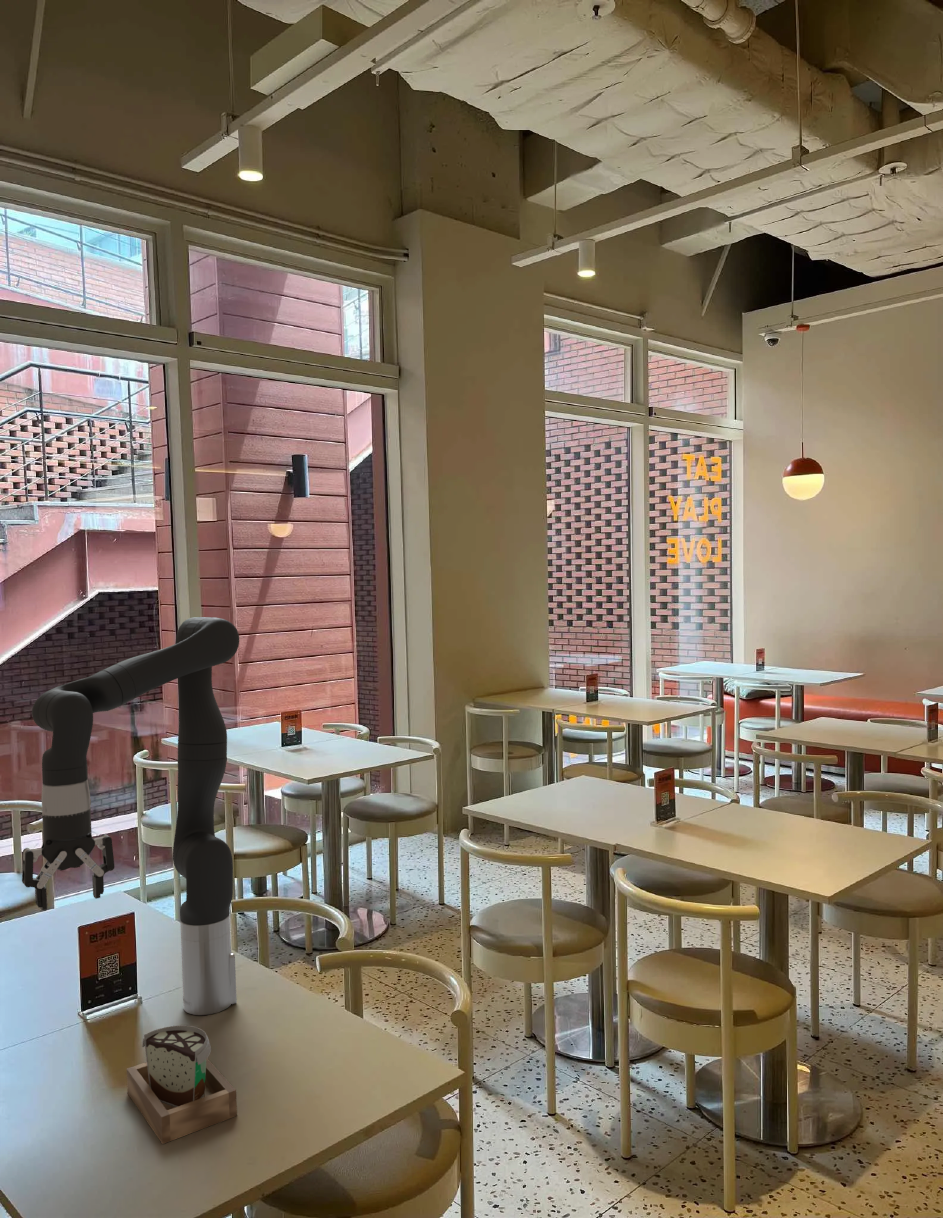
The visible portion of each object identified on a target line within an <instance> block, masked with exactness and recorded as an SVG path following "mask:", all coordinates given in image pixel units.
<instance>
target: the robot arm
mask: <svg viewBox="0 0 943 1218" xmlns="http://www.w3.org/2000/svg"><path fill="white" fill-rule="evenodd" d="M239 646H240V634H239V632H238V630H237V627H236V626H235V625H234V624H233V623H232V622H230V621H229V620H227V619H225V618H221V617H210V616H206V617H204V616H203V617H202V616H201V617H200V616H195V617H189V618H187V619H185V620H184V621H183V622H182V623H181V624H180V626H179V628H178V629H177V632H176V635H175V642H174V644H172V645H170V646H167V647H164V648H161V649H157V650H154V651H151V652H148V653H144V654H139V655H137V656H133V657H130V658H127V659H125V660H124V659H123V660H122V661H119V662H117V663H115V664H113V665H111V666H109V667H107V668H104V669H102V670H100V671H98V672H96V673H94V674H92V675H90V676H87V677H85V678H81V679H77V680H74V681H71V682H68V683H67V682H66V683H65V684H64V683H63V684H62V685H58V686H56V687H53V688H51V689H49V690H47V691H45V692H44V693H42V694H41V695H40V696H39V697H38V698H37V699H36V700H35V701H34V704H33V705H32V710H31V717H32V719H33V722H34V723H35V724H36V725H37V726H38V727H39V728H41V729H42V730H45V731H47V732H52V740H51V745H50V746H51V747H49V748H47V749H46V750H44V752H43V754H42V757H41V759H42V760H41V775H42V776H41V777H42V778H41V779H42V790H41V812H42V814H41V817H42V836H43V837H42V840H43V843H42V845H41V847H39V848H37V847H36V848H32V849H31V848H30V847H25V848H24V849H23V850H22V863H21V865H22V866H21V867H22V868H21V882H22V884H23V885H24V886H25V888H34V893H35V894H34V895H35V896H34V898H35V905H36V906H37V907H38V908H40V910H41V911H46V910H48V903H47V902H48V901H47V900H48V899H47V897H48V896H47V887H46V884H47V883H48V882H49V880H50V879H51V878H52V877H53V876H54V874H55V873H56V871H62V872H63V871H66V870H67V869H71V868H72V869H73V868H74V869H76V868H80V867H81V866H82V865H83V864H85V865H86V867H88V868H89V870H91V871H92V872H93V874H92V875H91V876H92V877H91V878H92V879H91V880H92V897H93V898H94V899H101V895H104V892H105V891H104V890H105V886H104V884H105V883H104V876H105V874H106V873H109V872H111V871H113V870H114V869H115V867H116V866H115V859H114V858H115V857H114V848H113V839H112V837H111V836H110V835H108V834H106V833H103V834H102V835H100V836H98V837H95V838H94V837H93V835H92V833H93V832H92V811H91V804H92V800H91V791H90V787H89V786H90V785H89V780H88V777H89V776H88V773H89V772H88V760H87V755H88V751H89V750H88V749H89V748H90V747H89V746H90V744H91V743H90V742H91V739H92V738H91V736H92V731H93V727H94V725H93V724H94V714H95V713H100V712H102V713H103V712H108V711H111V710H114V709H117V708H118V707H121V706H122V705H125V704H128V703H129V702H131V701H133V700H134V699H136V698H139V697H140V696H142V695H144V694H146V693H148V692H151V691H153V690H154V689H156V688H157V689H158V688H159V687H161V686H163V685H165V684H168V683H170V682H172V681H175V680H177V683H178V733H177V734H178V735H177V736H178V737H177V811H176V812H177V814H176V823H175V831H174V836H173V837H174V838H173V846H172V862H173V866H174V868H175V870H176V872H177V873H178V874H179V875H180V876H182V877H183V878H185V882H186V884H185V887H186V888H185V889H186V890H185V891H186V899H185V900H184V902H183V903H182V904H181V905H180V907H179V920H180V921H179V923H180V926H179V928H180V946H181V948H180V949H181V953H180V954H181V973H182V974H181V975H182V977H181V978H182V1000H183V1001H182V1003H183V1010H184V1012H186V1013H188V1014H190V1015H194V1016H205V1015H212V1014H216V1013H219V1012H222V1011H224V1010H226V1009H227V1008H229V1007H230V1006H231V1004H232V1005H234V1004H237V1002H238V1001H237V1000H238V998H237V997H238V996H237V977H236V976H237V974H236V971H237V970H236V955H235V953H233V952H232V947H231V946H232V945H231V944H232V943H231V941H232V940H231V919H230V917H231V916H230V914H231V913H230V906H231V904H232V901H233V897H234V896H233V895H234V892H233V891H234V875H233V874H234V865H233V864H234V863H233V862H234V861H233V854H232V851H231V848H230V846H229V844H227V843H226V841H224V840H222V839H221V838H219V837H217V836H216V834H215V816H214V815H215V802H216V799H217V795H218V793H219V790H220V787H221V784H222V782H223V780H224V775H225V773H226V772H225V771H226V769H227V763H228V762H227V760H228V757H227V755H228V734H227V733H228V732H227V727H226V723H225V720H224V717H223V715H222V713H221V710H220V707H219V705H218V703H217V700H216V698H215V697H216V696H215V694H214V691H213V680H212V679H213V676H212V675H213V667H215V666H218V665H222V664H225V663H228V661H230V660H231V659H232V658H233V657H234V656H235V655H236V653H237V651H238V649H239ZM95 846H97V848H98V849H99V850H101V853H102V861H103V862H102V864H100V865H98V864H97V863H96V862H95V861H94V860H93V859H92V857H91V856H90V855H91V853H92V851H94V849H95ZM40 856H42V857H43V858H44V859H45V860H46V861H45V862H44V864H42V867H41V869H40V871H39V873H38V874H37V876H36V877H34V863H36V862H38V858H39V857H40Z"/></svg>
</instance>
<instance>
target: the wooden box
mask: <svg viewBox="0 0 943 1218" xmlns="http://www.w3.org/2000/svg"><path fill="white" fill-rule="evenodd" d="M126 1085H127V1086H126V1087H127V1091H126V1092H127V1095H128V1096H129V1097H130V1099H131V1100H132V1102H133V1103H134V1105H135V1106H136V1107H137V1109H138V1111H139V1112H140V1114H141V1115H142V1116H143V1117H144V1119H145V1121H146V1122H147V1124H148V1125H149V1126H150V1128H151V1130H152V1131H153V1132H154V1134H155V1135H156V1137H157V1138H158V1140H159V1141H160V1142H161V1144H162V1145H165V1144H167V1143H169V1142H172V1141H174V1140H176V1139H177V1140H178V1139H179V1138H183V1137H185V1136H187V1135H190V1134H192V1133H196V1132H198V1131H201V1130H203V1129H206V1128H208V1127H211V1126H213V1125H214V1126H215V1125H217V1124H219V1123H221V1122H225V1121H227V1120H230V1119H232V1118H235V1117H238V1105H237V1103H238V1101H237V1089H236V1088H235V1087H234V1086H233V1084H231V1082H230V1081H228V1079H227V1078H226V1077H225V1076H224V1075H223V1074H222V1073H221V1072H220V1070H219V1069H218V1068H217V1067H216V1066H215V1065H214V1064H213V1063H212V1062H211V1060H209V1057H207V1059H206V1076H205V1096H204V1097H203V1098H200V1099H198V1100H195V1101H192V1102H189V1103H187V1104H184V1105H181V1106H178V1107H176V1108H175V1107H172V1106H170V1105H167V1104H164V1103H161V1102H160V1100H159V1099H158V1098H157V1096H156V1095H155V1094H154V1092H153V1091H152V1090H151V1088H150V1087H149V1079H148V1070H147V1061H146V1062H143V1063H139V1064H136V1065H134V1066H131V1067H128V1068H126Z"/></svg>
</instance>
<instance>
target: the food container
mask: <svg viewBox="0 0 943 1218" xmlns="http://www.w3.org/2000/svg"><path fill="white" fill-rule="evenodd" d="M141 1047H142V1048H145V1049H144V1050H145V1060H146V1062H147V1070H148V1079H149V1087H150V1088H151V1090H152V1091H153V1092H154V1094H155V1095H156V1096H157V1098H158V1099H159V1100H160V1102H161V1103H164V1104H167V1105H170V1106H172V1107H175V1108H176V1107H178V1106H181V1105H184V1104H187V1103H189V1102H192V1101H195V1100H198V1099H200V1098H203V1097H204V1096H205V1076H206V1059H207V1058H209V1056H210V1055H211V1051H212V1047H211V1042H210V1040H209V1037H208V1035H207V1033H206V1031H204V1029H201V1028H200V1027H197V1026H193V1025H185V1024H184V1025H182V1024H181V1025H173V1026H172V1025H170V1026H164V1027H161V1028H158V1029H157V1028H156V1029H154V1030H151V1031H149V1032H148V1033H147V1032H146V1033H145V1034H143V1038H142V1045H141Z"/></svg>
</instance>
